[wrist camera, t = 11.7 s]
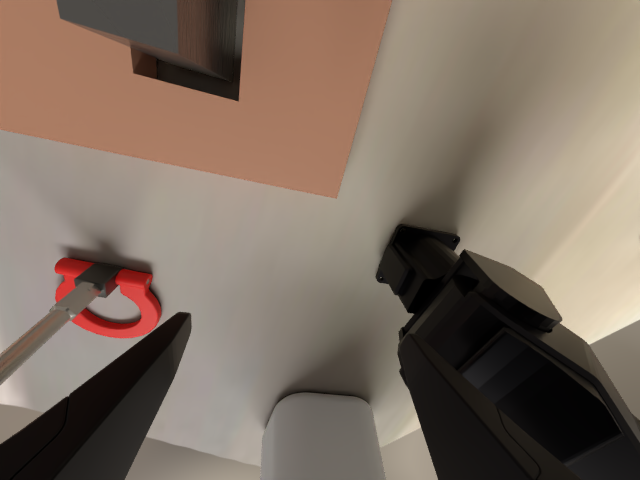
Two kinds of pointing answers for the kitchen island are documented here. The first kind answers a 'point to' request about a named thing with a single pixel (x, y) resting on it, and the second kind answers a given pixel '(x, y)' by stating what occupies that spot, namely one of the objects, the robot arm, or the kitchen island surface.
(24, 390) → the kitchen island surface
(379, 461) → the plastic bottle
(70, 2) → the dark gray brick
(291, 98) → the tan flat board
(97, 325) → the tow hook
